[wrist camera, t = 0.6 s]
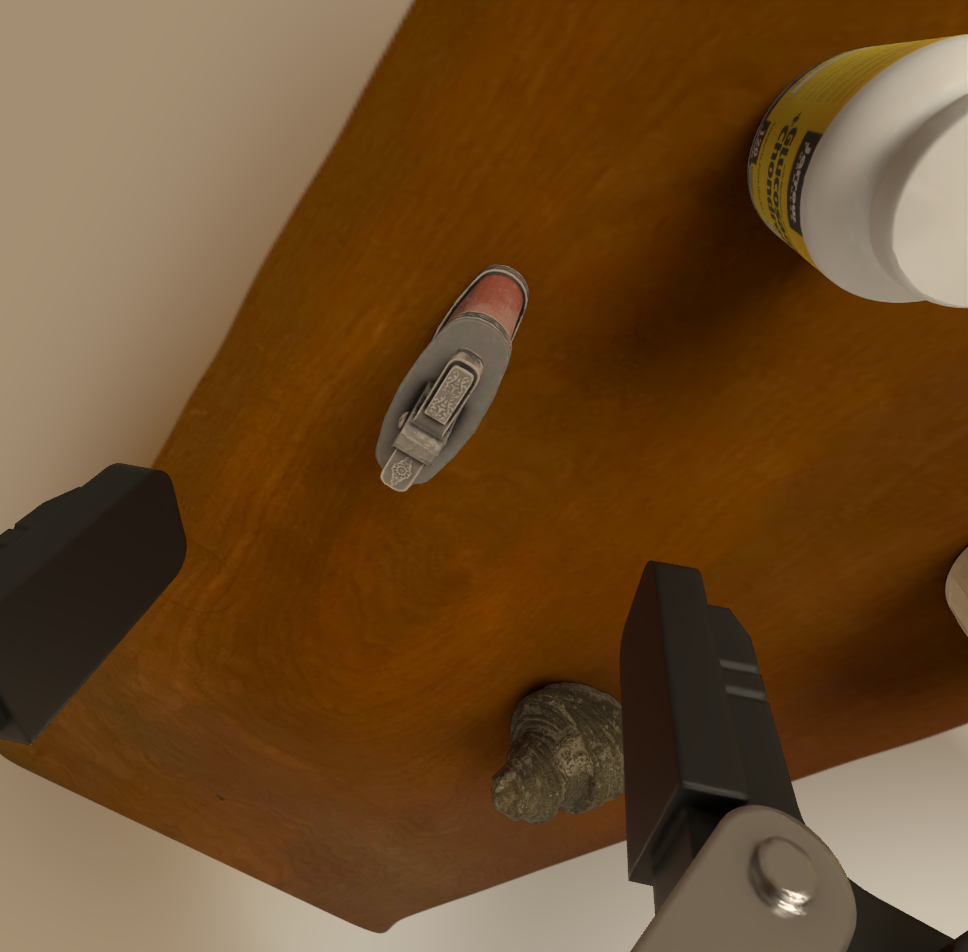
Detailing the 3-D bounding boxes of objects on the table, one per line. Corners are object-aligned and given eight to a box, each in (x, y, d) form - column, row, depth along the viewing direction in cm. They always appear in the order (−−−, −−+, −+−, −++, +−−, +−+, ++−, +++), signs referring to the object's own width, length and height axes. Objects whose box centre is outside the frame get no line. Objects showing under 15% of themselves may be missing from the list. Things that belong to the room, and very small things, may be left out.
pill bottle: (753, 63, 21) (881, 44, 12) (956, 34, 20) (1283, -13, 11) (734, 249, 25) (821, 351, 15) (906, 235, 24) (1118, 336, 14)
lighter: (461, 418, 31) (413, 535, 23) (406, 384, 31) (336, 492, 23) (546, 290, 27) (523, 379, 19) (483, 248, 26) (432, 321, 18)
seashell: (562, 703, 33) (436, 753, 38) (669, 908, 31) (523, 936, 36) (616, 639, 43) (511, 685, 48) (700, 792, 41) (583, 825, 46)
